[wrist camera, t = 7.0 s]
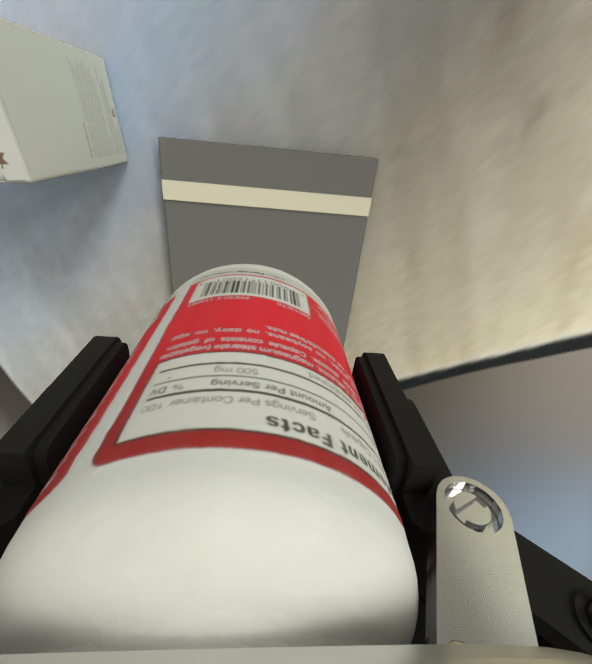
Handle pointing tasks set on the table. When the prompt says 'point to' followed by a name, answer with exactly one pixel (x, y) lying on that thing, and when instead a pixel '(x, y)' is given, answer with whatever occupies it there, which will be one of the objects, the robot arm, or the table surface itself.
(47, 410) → the robot arm
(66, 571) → the pill bottle
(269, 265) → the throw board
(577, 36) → the table surface
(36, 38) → the small box
